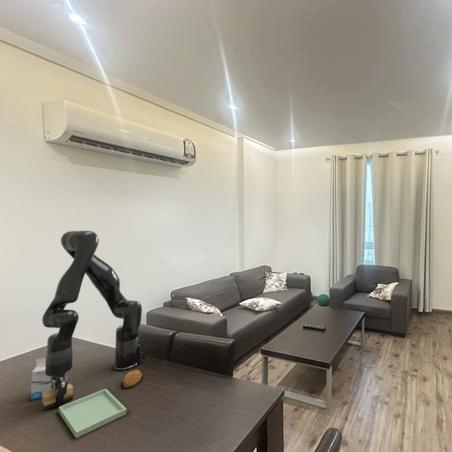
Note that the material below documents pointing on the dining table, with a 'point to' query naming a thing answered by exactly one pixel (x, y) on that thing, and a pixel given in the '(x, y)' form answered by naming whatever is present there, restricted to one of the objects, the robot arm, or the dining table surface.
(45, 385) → the ink box
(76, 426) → the tray
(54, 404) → the eraser
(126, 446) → the dining table surface
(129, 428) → the dining table surface
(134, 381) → the pastry
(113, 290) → the robot arm
